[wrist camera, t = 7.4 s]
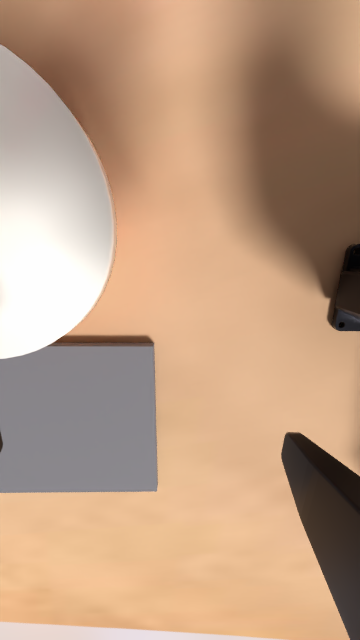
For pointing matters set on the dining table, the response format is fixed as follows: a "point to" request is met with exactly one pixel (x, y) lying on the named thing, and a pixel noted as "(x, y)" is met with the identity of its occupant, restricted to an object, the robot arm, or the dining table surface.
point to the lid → (48, 214)
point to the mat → (79, 419)
